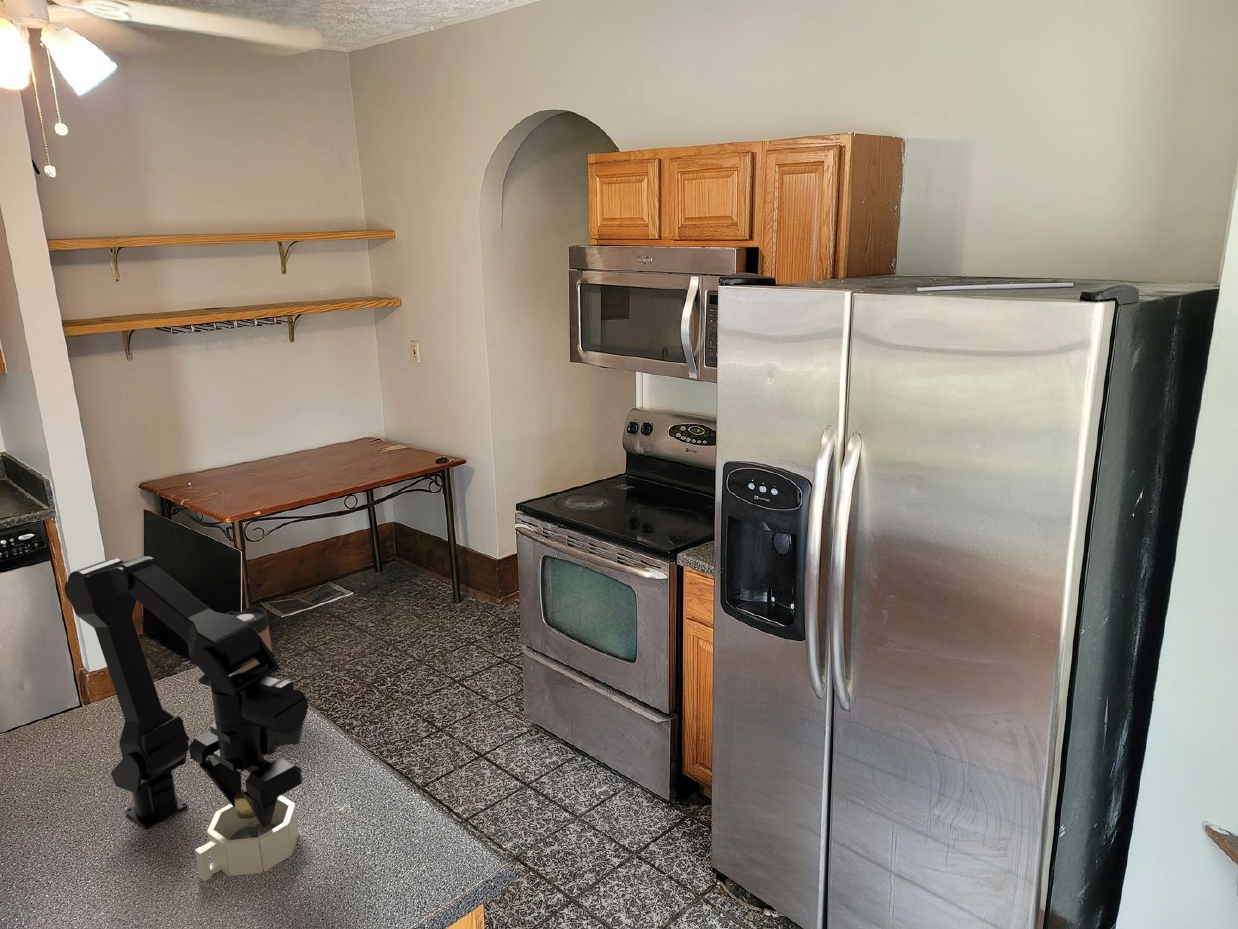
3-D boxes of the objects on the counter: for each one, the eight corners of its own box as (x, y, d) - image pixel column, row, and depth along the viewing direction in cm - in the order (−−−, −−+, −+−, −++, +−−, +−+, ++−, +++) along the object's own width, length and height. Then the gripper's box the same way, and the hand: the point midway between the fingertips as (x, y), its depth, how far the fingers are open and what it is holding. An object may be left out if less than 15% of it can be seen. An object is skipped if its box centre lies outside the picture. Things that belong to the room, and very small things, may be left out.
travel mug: (263, 731, 156) (250, 626, 151) (224, 727, 157) (210, 623, 152) (288, 709, 163) (276, 608, 158) (250, 705, 165) (237, 605, 159)
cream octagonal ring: (181, 864, 123) (176, 833, 122) (268, 814, 133) (264, 785, 132) (223, 897, 117) (218, 865, 115) (311, 842, 127) (308, 812, 126)
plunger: (218, 847, 125) (211, 799, 123) (263, 821, 131) (257, 774, 129) (246, 867, 121) (239, 817, 119) (291, 839, 127) (285, 791, 125)
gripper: (330, 711, 122) (341, 810, 126) (253, 673, 132) (265, 765, 136) (256, 748, 113) (270, 853, 117) (180, 704, 124) (195, 802, 128)
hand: (251, 815), depth 125 cm, fingers open, 7 cm apart
